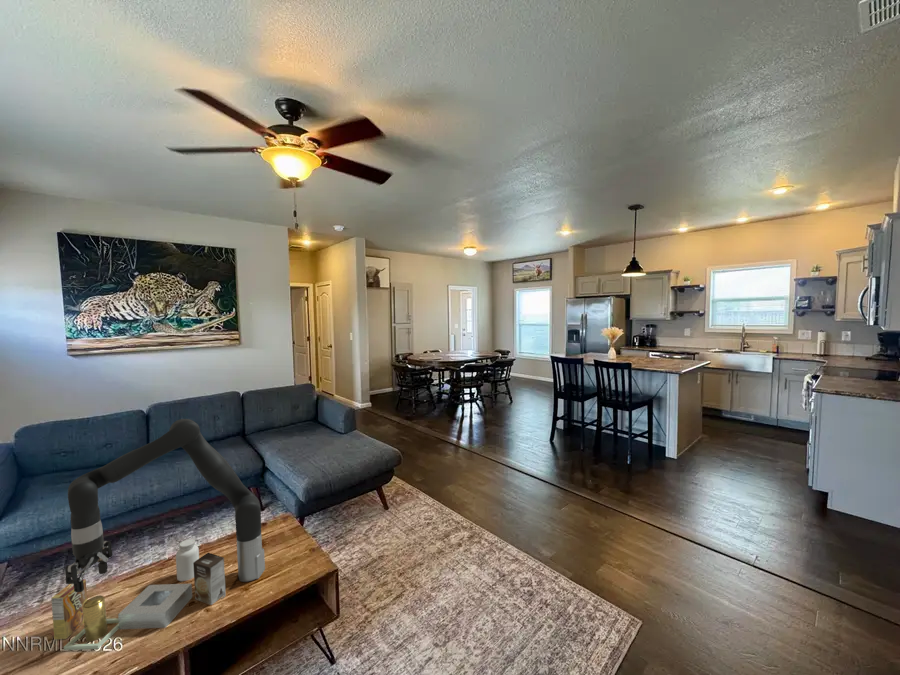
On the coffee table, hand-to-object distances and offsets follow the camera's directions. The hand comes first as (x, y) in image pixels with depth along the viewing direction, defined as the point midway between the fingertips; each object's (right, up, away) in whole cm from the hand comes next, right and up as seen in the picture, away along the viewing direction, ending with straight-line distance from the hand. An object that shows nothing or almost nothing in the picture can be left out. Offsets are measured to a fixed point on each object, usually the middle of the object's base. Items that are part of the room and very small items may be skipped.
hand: (91, 581), depth 126 cm
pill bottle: (+11, -18, +31) cm, 38 cm away
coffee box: (+29, -19, +18) cm, 39 cm away
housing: (+14, -19, +11) cm, 26 cm away
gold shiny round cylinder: (0, -20, +1) cm, 20 cm away
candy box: (-12, -20, +5) cm, 24 cm away
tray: (0, -20, +1) cm, 20 cm away
